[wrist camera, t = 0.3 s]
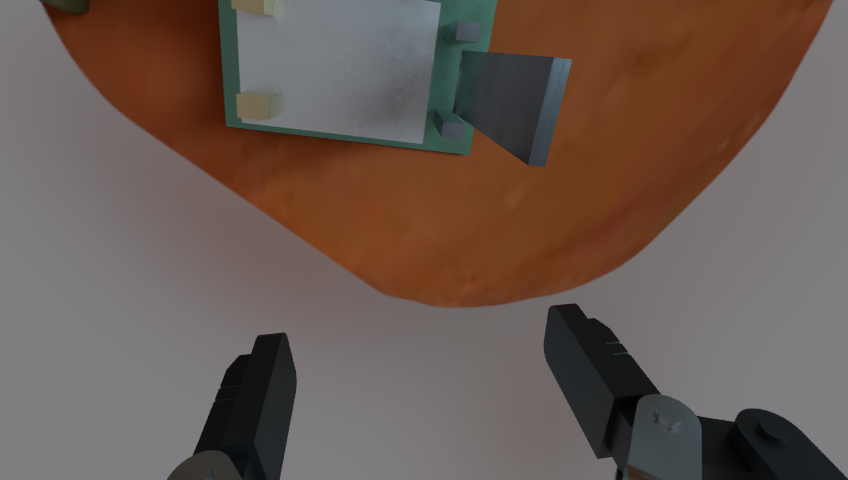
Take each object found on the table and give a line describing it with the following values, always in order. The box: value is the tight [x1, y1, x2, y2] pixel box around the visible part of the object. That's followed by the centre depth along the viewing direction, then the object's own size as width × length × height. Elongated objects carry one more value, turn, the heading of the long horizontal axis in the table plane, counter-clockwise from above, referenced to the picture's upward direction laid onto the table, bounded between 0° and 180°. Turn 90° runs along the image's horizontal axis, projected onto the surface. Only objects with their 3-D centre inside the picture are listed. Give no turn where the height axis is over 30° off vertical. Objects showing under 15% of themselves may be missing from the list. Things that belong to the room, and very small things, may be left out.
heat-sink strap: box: [452, 50, 572, 167], centre depth 24 cm, size 4×16×1 cm
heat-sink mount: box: [218, 0, 497, 155], centre depth 32 cm, size 13×22×8 cm, turn 82°
